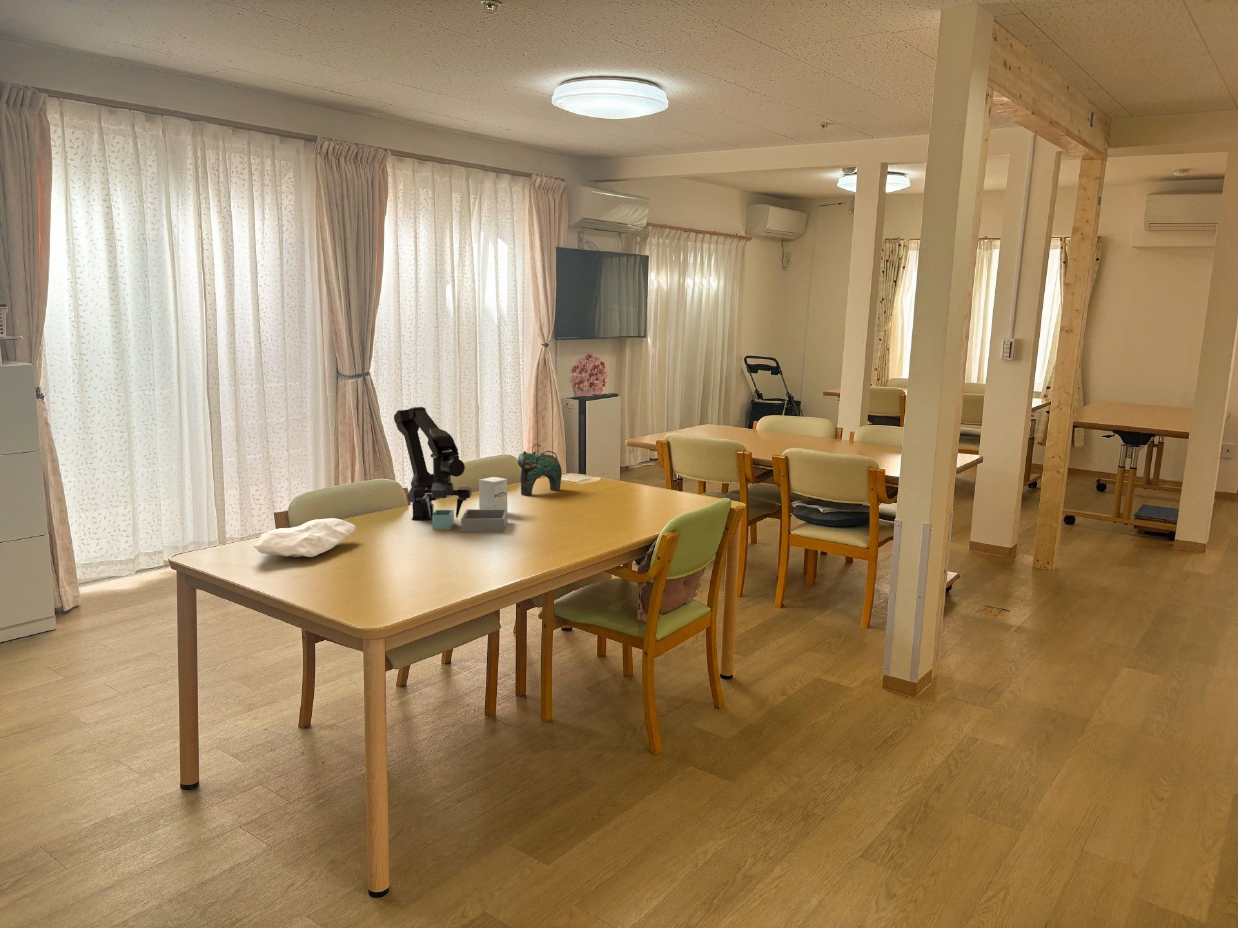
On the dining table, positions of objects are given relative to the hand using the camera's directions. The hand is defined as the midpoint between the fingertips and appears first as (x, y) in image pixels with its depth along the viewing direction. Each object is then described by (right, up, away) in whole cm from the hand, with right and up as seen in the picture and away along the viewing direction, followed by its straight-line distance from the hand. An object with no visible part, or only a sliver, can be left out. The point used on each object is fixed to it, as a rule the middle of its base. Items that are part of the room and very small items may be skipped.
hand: (443, 517), depth 296 cm
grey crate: (+14, -3, 0) cm, 14 cm away
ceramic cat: (+27, +6, +56) cm, 63 cm away
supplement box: (+14, 0, +20) cm, 24 cm away
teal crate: (0, -3, 0) cm, 3 cm away
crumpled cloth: (-36, -9, -31) cm, 48 cm away
